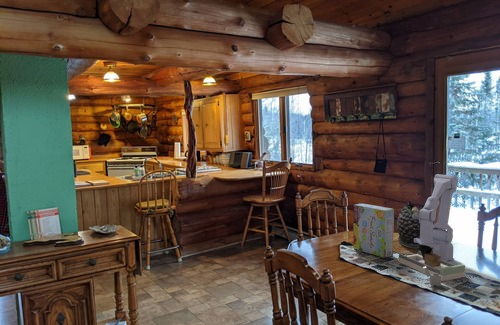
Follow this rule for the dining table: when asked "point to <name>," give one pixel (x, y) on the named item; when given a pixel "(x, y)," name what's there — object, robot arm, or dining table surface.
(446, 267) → the trap channel
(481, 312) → the dining table surface
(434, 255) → the walnut block
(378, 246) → the snack box
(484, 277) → the dining table surface
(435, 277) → the lighter
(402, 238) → the pine cone
